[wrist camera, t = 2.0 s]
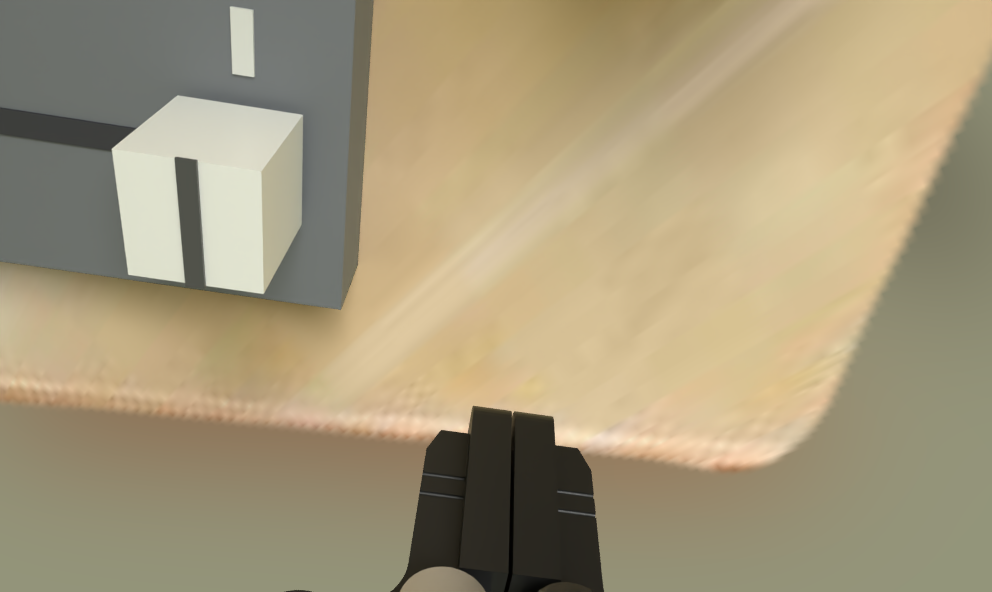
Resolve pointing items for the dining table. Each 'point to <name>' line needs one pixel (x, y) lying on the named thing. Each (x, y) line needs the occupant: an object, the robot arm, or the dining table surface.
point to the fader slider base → (154, 83)
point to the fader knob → (210, 193)
